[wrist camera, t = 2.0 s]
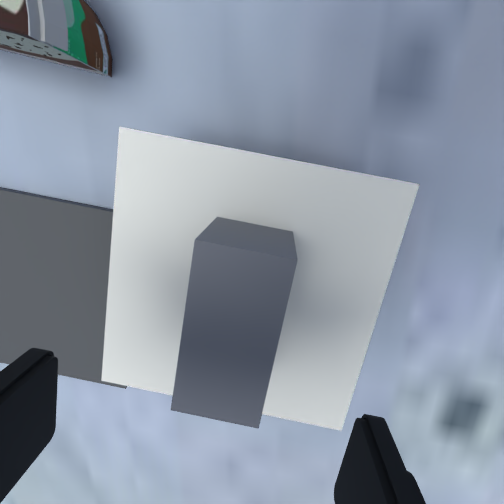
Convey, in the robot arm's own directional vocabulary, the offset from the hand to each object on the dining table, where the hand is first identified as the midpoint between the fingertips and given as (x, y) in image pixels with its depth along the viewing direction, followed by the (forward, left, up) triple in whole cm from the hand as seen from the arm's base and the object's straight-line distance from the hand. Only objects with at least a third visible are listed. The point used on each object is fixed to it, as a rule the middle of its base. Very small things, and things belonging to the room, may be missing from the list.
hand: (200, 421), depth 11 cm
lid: (0, 0, -10) cm, 10 cm away
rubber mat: (+17, +7, -18) cm, 26 cm away
